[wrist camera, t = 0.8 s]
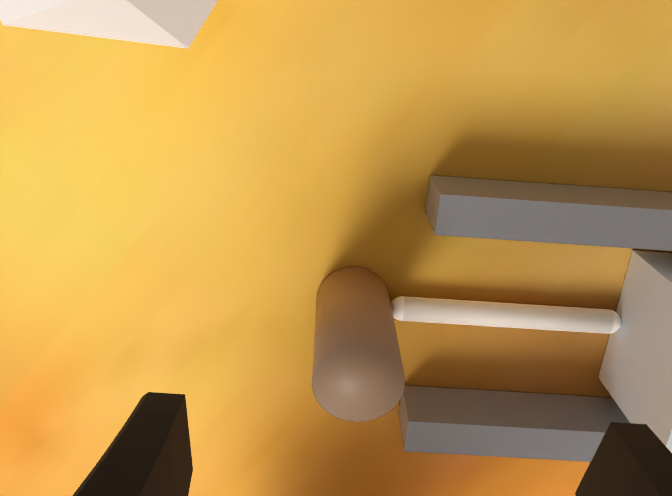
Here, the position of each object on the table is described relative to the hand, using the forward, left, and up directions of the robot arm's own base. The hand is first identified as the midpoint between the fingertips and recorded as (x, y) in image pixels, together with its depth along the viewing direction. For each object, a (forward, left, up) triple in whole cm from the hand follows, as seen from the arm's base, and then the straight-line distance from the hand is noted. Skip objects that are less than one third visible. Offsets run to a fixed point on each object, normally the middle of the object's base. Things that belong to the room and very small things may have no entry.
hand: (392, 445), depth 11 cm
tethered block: (-4, -8, -14) cm, 17 cm away
